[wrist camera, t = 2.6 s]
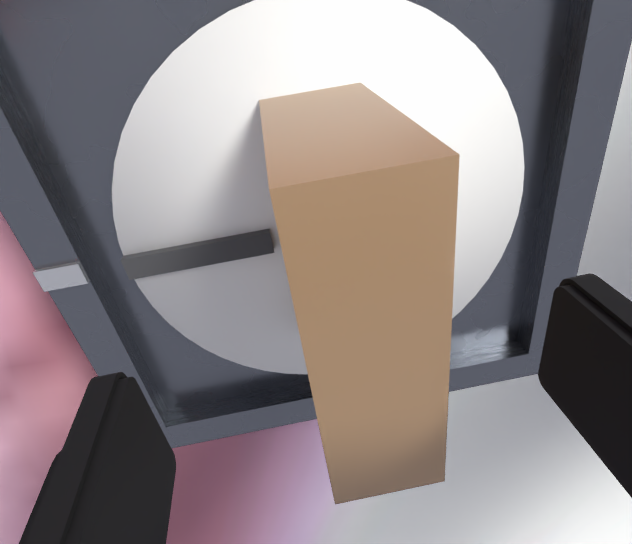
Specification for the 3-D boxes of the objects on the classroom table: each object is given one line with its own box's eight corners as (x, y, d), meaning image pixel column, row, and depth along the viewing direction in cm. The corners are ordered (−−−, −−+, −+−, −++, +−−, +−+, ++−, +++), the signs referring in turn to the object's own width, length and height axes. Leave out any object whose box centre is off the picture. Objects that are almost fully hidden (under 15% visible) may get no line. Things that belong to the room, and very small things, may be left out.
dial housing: (626, -197, 12) (703, -237, 10) (529, 340, 23) (556, 373, 21) (-113, -85, 11) (-193, -103, 9) (152, 415, 22) (143, 457, 20)
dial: (534, -51, 12) (883, -112, 6) (492, 324, 20) (616, 490, 13) (38, 31, 12) (-243, 73, 5) (190, 384, 19) (160, 588, 13)
